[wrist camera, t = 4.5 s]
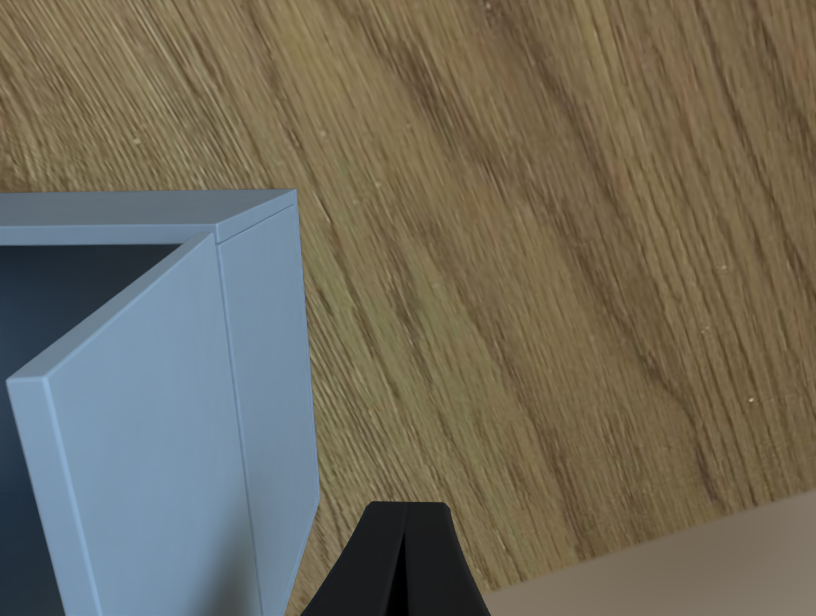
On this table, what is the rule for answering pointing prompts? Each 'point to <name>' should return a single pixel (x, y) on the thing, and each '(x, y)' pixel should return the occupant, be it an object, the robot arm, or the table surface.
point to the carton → (246, 337)
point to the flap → (142, 450)
